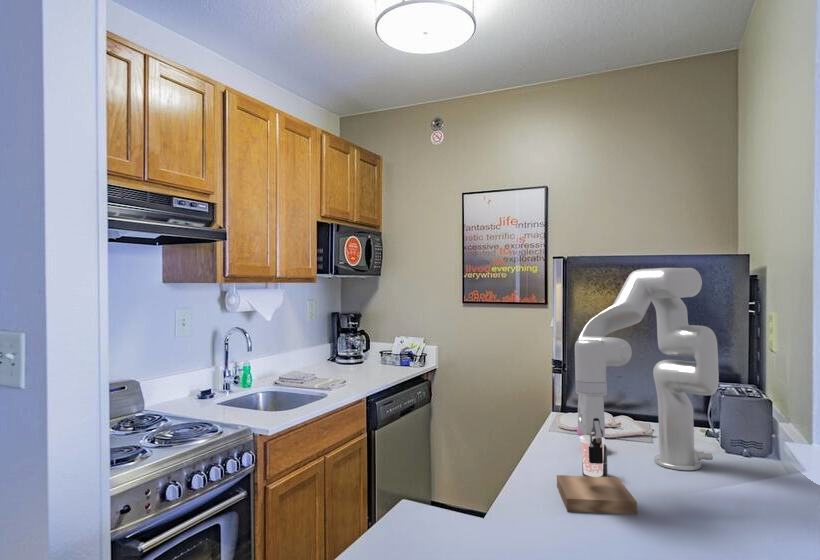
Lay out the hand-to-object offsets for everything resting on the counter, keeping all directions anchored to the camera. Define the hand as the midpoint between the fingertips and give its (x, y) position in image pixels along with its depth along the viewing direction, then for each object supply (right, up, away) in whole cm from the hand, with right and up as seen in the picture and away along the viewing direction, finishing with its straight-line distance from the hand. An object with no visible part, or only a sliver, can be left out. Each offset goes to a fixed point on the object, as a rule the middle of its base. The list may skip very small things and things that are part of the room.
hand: (592, 458), depth 126 cm
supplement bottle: (+7, -11, +16) cm, 20 cm away
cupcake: (+14, -12, +39) cm, 43 cm away
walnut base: (0, -10, 0) cm, 10 cm away
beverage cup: (0, -4, 0) cm, 4 cm away
